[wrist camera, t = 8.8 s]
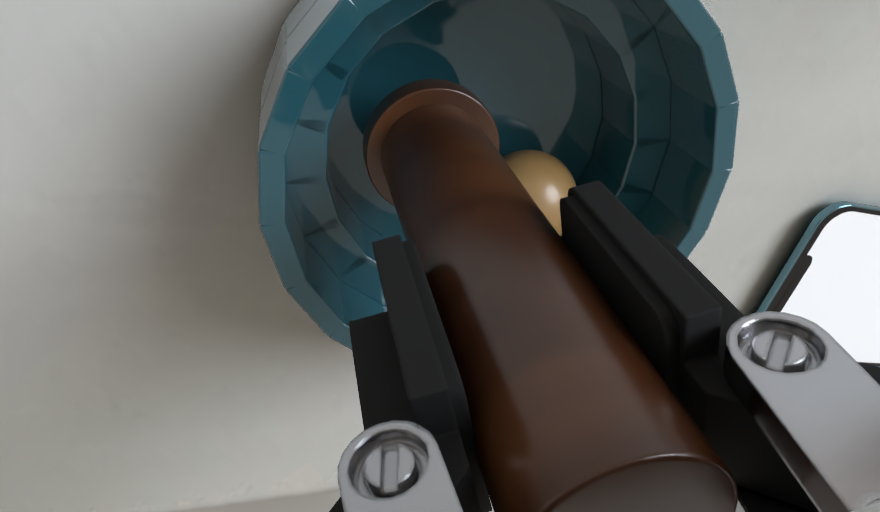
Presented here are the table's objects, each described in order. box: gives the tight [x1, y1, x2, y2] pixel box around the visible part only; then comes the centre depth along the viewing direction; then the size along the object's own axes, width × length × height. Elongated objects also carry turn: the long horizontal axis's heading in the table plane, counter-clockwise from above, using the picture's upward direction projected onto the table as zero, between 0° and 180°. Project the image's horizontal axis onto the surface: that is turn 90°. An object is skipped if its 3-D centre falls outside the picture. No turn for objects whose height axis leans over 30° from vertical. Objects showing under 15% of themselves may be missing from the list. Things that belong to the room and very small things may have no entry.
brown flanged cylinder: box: [363, 79, 738, 512], centre depth 12 cm, size 4×4×12 cm
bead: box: [503, 149, 576, 236], centre depth 19 cm, size 3×3×3 cm
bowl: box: [257, 0, 739, 349], centre depth 18 cm, size 12×12×5 cm
